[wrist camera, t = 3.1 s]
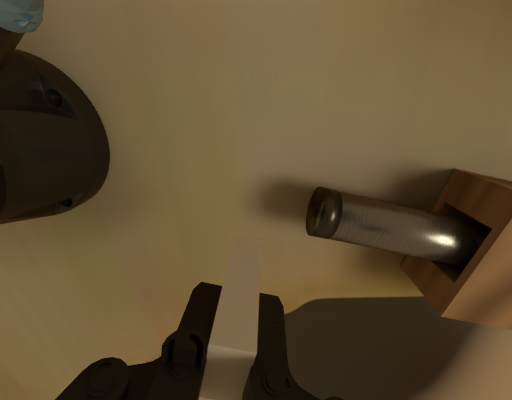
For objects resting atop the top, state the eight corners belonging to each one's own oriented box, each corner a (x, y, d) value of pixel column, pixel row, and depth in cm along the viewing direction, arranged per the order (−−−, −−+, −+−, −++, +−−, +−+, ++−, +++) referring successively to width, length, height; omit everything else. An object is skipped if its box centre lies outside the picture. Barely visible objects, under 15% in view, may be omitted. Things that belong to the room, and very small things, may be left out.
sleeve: (400, 266, 28) (440, 316, 21) (455, 168, 23) (528, 195, 17) (464, 279, 28) (523, 332, 22) (530, 185, 23) (631, 218, 17)
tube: (303, 220, 24) (311, 245, 20) (316, 180, 23) (328, 198, 19) (500, 262, 26) (546, 293, 21) (528, 226, 24) (583, 253, 20)
